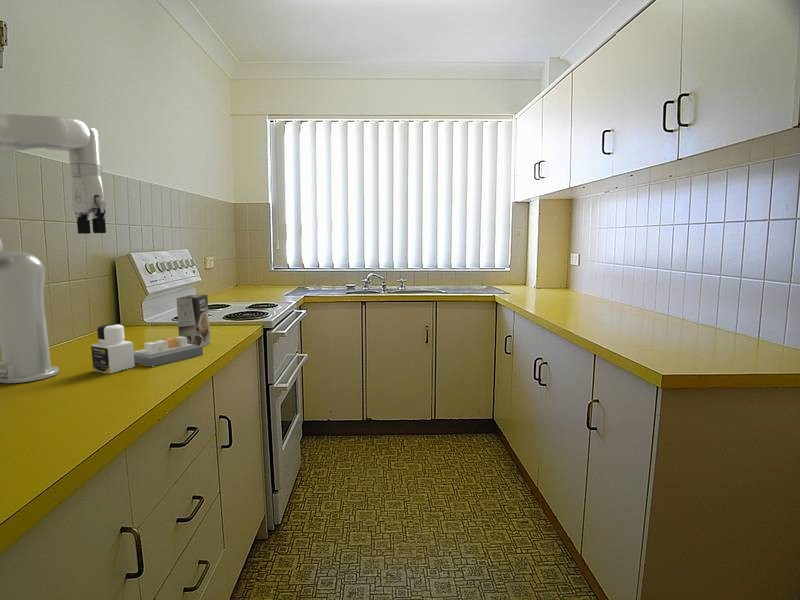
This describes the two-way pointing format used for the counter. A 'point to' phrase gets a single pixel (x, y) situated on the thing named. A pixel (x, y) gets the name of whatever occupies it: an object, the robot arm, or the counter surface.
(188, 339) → the coffee box
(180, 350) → the breaker panel
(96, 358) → the medicine bottle
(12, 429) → the counter surface
